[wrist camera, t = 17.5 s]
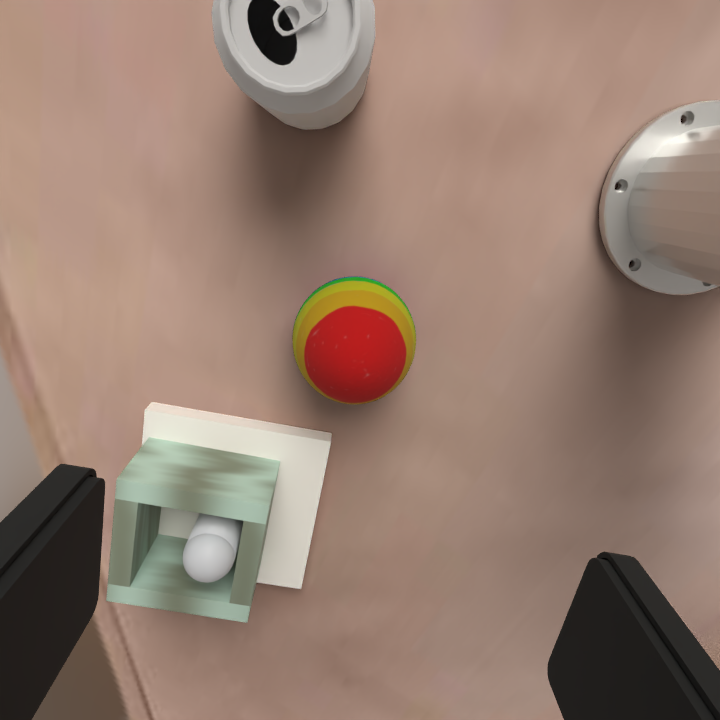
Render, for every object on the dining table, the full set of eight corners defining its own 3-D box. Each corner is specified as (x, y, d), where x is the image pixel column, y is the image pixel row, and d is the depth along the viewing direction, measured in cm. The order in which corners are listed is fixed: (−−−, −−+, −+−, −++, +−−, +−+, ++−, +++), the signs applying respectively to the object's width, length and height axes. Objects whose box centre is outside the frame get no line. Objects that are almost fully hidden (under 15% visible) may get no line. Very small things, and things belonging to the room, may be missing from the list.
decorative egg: (366, 395, 42) (370, 459, 32) (276, 336, 40) (254, 385, 31) (431, 311, 40) (456, 353, 30) (340, 245, 38) (336, 268, 29)
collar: (280, 460, 42) (269, 505, 36) (260, 566, 45) (247, 622, 39) (148, 437, 41) (116, 479, 35) (137, 546, 44) (106, 600, 38)
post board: (331, 433, 43) (326, 499, 34) (302, 576, 47) (291, 667, 38) (152, 401, 42) (99, 461, 33) (138, 551, 46) (89, 640, 37)
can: (227, 41, 34) (166, -27, 23) (331, -27, 33) (321, -133, 22) (290, 153, 36) (262, 142, 25) (389, 93, 35) (408, 53, 24)
